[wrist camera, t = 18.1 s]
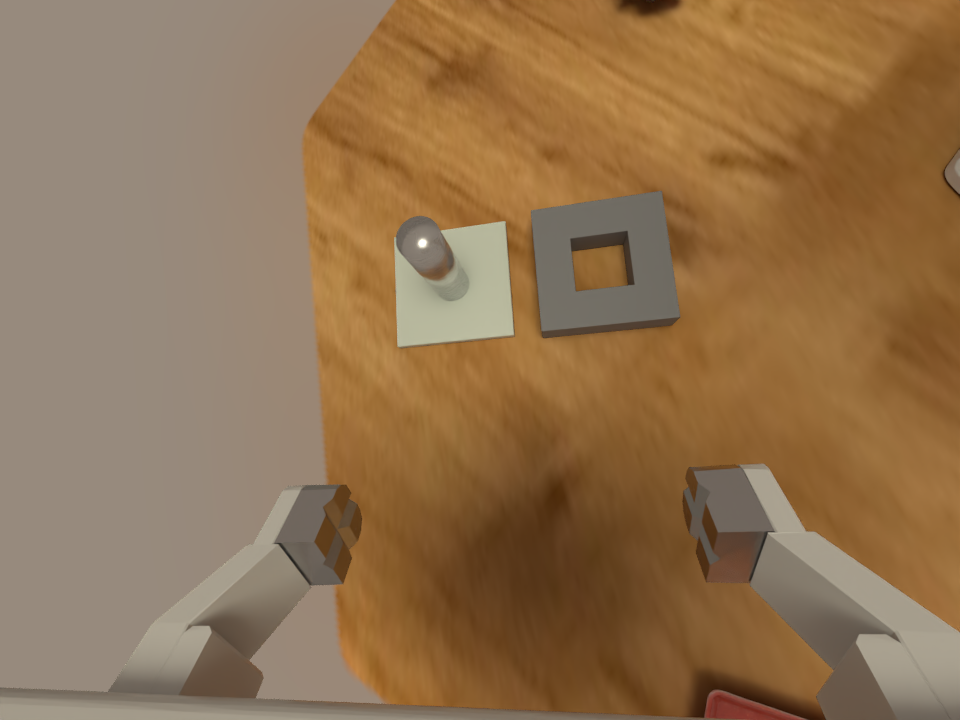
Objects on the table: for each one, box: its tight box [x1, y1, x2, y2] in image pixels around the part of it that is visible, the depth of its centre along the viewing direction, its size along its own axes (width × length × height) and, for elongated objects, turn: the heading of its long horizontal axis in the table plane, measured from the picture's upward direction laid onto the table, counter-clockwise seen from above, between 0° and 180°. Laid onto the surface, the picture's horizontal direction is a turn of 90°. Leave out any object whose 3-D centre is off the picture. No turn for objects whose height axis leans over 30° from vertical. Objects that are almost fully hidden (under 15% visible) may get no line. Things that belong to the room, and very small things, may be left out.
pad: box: [394, 221, 515, 348], centre depth 45 cm, size 12×12×1 cm
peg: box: [396, 216, 469, 301], centre depth 39 cm, size 4×4×11 cm
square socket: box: [531, 191, 680, 338], centre depth 41 cm, size 12×12×3 cm
